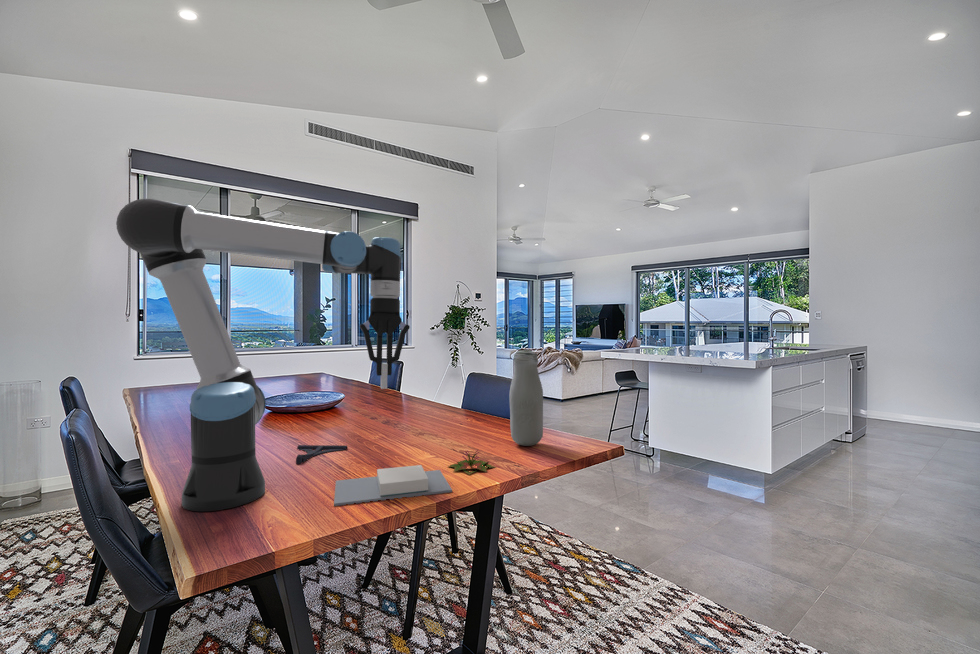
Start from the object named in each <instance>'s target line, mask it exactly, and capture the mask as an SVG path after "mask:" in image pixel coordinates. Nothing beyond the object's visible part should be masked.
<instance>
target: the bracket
mask: <svg viewBox="0 0 980 654" xmlns="http://www.w3.org/2000/svg"><path fill="white" fill-rule="evenodd" d="M348 448H349V446H348V445H344V444H343V445H339V444H338V445H337V444H336V445H334V444H333V445H332V444H331V445H329V444H328V445H325V444H324V445H323V444H322V445H321V444H320V445H319V444H305V445H304V444H303V445H302V444H299V445H297V448H296V450H297V449H299V450H298V451H301V450H304V451H303V452H305V451H306V452H305V453H306V454H297V456H296V458H295V459H296V460H295V464H296V465H302V464H303V463H304V461H305V462H306V461H308V460H310V459H311V458H312V456H313V457H315V456H319V455H323V454H327V452H328V453H333V452H334V451H335V452H341V451H346V450H348ZM312 449H315V450H312ZM322 450H323V451H322ZM335 452H334V453H335ZM322 453H323V454H322ZM310 457H311V458H310ZM309 458H310V459H309ZM307 459H308V460H307ZM302 462H303V463H302ZM301 463H302V464H301Z"/></svg>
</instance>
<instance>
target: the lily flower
mask: <svg viewBox="0 0 980 654" xmlns="http://www.w3.org/2000/svg"><path fill="white" fill-rule="evenodd" d="M464 453H465V456H466V457H465V456H464V455H462V458H463V460H460V461H457V463H453V464H450V465H448V467H450V468H454V470H453V473H454V472H458V471H461V470H462V471H463V472H464V473H465V474H467V475H472V474H473V473H475V472H478V470H479V471H481V472H482V471H483V472H484V473H485V472H486V473H488V470H487V468H488V467H489V468H488V469H490V468H496V466H494V465H492V464H486V463H489V462H488V461H483V460H478V459H479V458H480V457H479V456H478V455H477V454H479V453H481V451H479V449H478V450H475V453H474V454H472V455H471V453H470V452H469V451H468V449H467V451H466V450H465V451H464ZM474 465H475V466H474ZM482 465H483V466H482ZM476 466H477V468H476ZM485 466H486V467H485ZM468 467H469V468H470V467H471V468H472V467H475V468H476V469H477V470H476V469H474V470H475V471H473V470H471V471H472V472H471V471H470V472H469V470H468ZM466 468H467V470H468V471H467V470H466Z"/></svg>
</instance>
